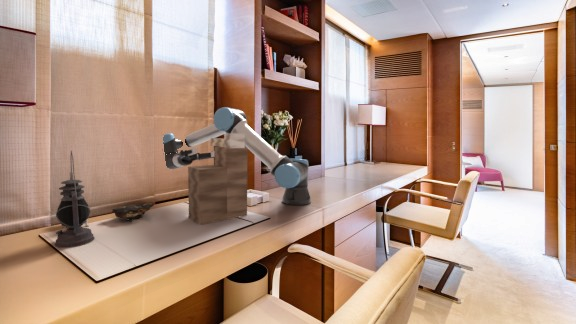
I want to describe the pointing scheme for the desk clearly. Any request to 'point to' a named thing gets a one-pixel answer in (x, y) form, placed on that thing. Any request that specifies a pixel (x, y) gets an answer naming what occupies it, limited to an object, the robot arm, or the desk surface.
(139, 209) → the fossil rock
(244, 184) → the stand
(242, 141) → the pale wooden block
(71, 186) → the lantern
